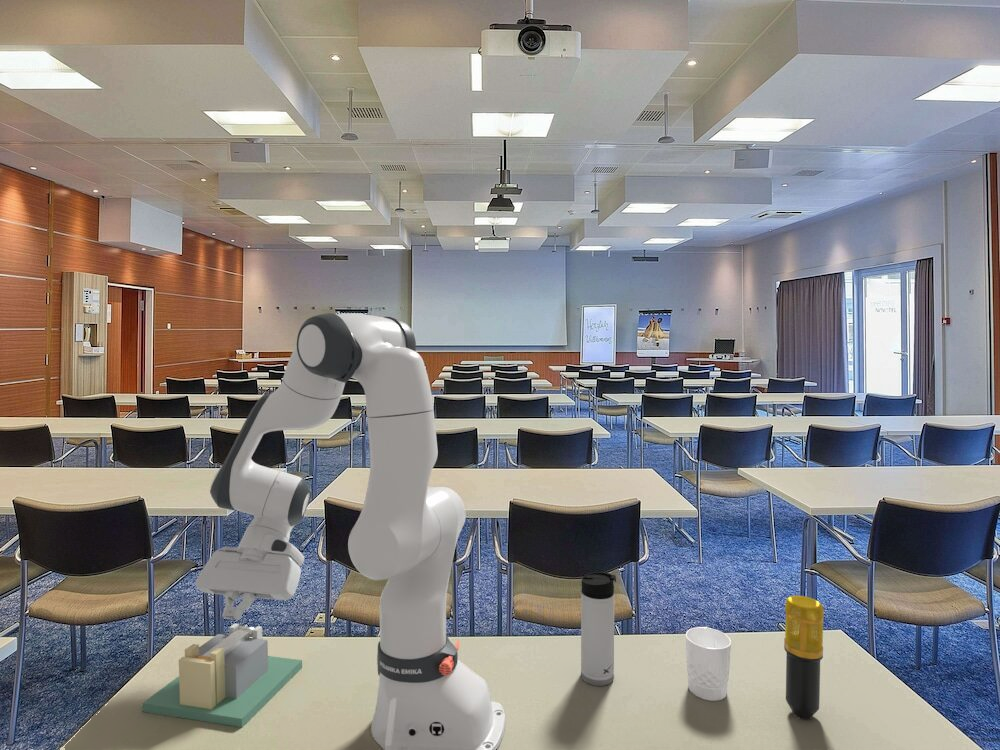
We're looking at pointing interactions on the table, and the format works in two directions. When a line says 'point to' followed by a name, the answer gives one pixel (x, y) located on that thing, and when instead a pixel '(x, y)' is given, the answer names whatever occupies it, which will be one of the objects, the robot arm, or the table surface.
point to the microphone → (803, 654)
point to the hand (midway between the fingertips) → (230, 618)
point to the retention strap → (230, 641)
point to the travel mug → (597, 628)
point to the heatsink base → (224, 682)
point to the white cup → (708, 662)
